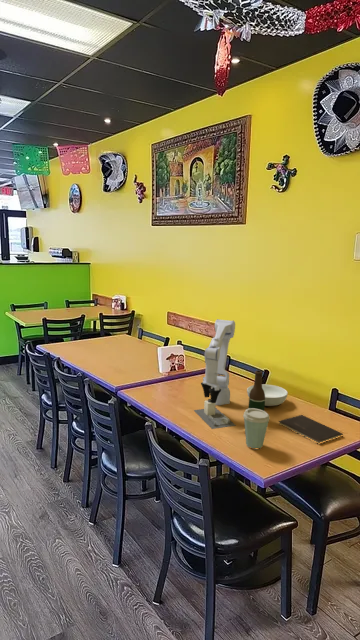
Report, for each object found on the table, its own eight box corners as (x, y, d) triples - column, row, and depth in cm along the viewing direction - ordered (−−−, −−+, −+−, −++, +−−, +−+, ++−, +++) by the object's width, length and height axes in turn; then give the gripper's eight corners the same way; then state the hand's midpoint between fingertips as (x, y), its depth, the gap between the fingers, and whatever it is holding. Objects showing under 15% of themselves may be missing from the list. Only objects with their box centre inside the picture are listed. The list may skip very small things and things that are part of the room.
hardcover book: (318, 446, 174) (318, 441, 174) (278, 425, 194) (278, 421, 193) (342, 437, 183) (343, 433, 183) (302, 418, 202) (302, 414, 202)
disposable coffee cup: (264, 440, 177) (266, 406, 174) (270, 452, 166) (273, 417, 164) (239, 440, 177) (241, 406, 174) (244, 452, 166) (246, 417, 163)
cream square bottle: (211, 411, 203) (212, 397, 202) (215, 414, 200) (215, 400, 199) (204, 412, 202) (204, 398, 201) (207, 415, 198) (208, 401, 197)
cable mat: (215, 409, 209) (215, 407, 209) (236, 427, 188) (236, 425, 188) (193, 412, 205) (193, 410, 204) (211, 431, 184) (212, 428, 184)
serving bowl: (264, 393, 234) (265, 381, 233) (294, 405, 218) (296, 392, 217) (238, 400, 222) (238, 388, 221) (267, 413, 206) (268, 400, 204)
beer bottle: (251, 424, 193) (254, 374, 189) (244, 417, 200) (247, 369, 196) (266, 422, 195) (270, 373, 191) (259, 416, 202) (262, 368, 198)
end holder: (222, 417, 196) (222, 413, 196) (229, 424, 190) (229, 419, 189) (207, 419, 194) (208, 415, 193) (214, 425, 187) (214, 421, 187)
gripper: (197, 368, 203) (196, 395, 205) (210, 377, 189) (208, 406, 192) (210, 367, 205) (209, 394, 207) (224, 376, 192) (222, 404, 194)
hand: (210, 399), depth 200 cm, fingers open, 7 cm apart
